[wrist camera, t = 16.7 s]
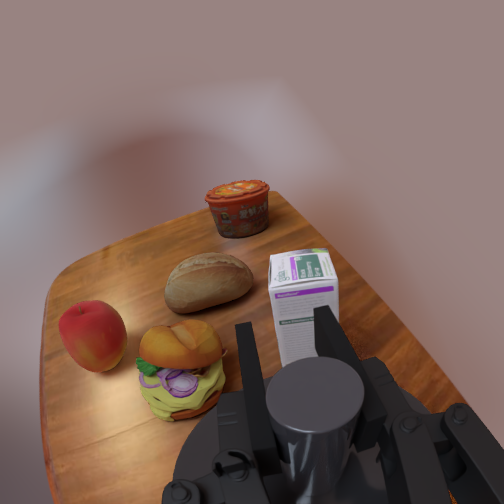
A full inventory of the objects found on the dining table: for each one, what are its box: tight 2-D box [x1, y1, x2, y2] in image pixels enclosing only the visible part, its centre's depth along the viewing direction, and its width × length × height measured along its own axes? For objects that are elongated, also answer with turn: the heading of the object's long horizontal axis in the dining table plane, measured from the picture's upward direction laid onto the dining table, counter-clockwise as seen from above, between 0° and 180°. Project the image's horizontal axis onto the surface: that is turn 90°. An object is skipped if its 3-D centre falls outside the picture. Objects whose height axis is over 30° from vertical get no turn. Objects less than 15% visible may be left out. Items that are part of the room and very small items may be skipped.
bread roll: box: [164, 252, 253, 313], centre depth 46 cm, size 10×15×8 cm, turn 108°
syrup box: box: [269, 248, 339, 368], centre depth 28 cm, size 6×6×14 cm
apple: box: [59, 300, 127, 372], centre depth 35 cm, size 10×10×10 cm
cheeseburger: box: [136, 319, 227, 421], centre depth 30 cm, size 10×11×10 cm
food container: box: [205, 180, 269, 238], centre depth 73 cm, size 16×16×11 cm
